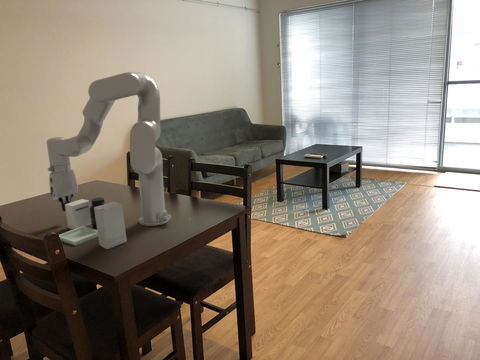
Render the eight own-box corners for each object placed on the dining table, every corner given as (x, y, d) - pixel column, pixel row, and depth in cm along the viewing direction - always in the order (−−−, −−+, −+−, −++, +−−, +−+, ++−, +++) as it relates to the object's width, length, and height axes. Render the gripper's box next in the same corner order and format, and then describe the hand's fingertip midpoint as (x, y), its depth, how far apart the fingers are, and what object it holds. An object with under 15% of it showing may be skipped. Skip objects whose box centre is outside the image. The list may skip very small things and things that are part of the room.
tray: (102, 235, 155) (101, 231, 155) (75, 245, 146) (75, 242, 145) (83, 229, 161) (82, 226, 161) (56, 239, 152) (56, 236, 151)
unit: (93, 223, 167) (90, 200, 165) (76, 230, 161) (72, 206, 158) (84, 221, 170) (81, 198, 168) (67, 227, 164) (64, 204, 161)
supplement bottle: (88, 230, 161) (84, 201, 158) (98, 223, 167) (94, 196, 164) (103, 231, 159) (100, 202, 156) (113, 224, 165) (109, 196, 162)
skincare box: (118, 238, 151) (114, 200, 147) (127, 242, 147) (123, 203, 143) (98, 245, 145) (93, 206, 141) (106, 250, 141) (101, 209, 137)
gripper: (49, 173, 156) (55, 218, 160) (82, 165, 168) (87, 207, 172) (37, 171, 160) (44, 215, 164) (71, 163, 172) (77, 204, 176)
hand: (66, 211), depth 168 cm, fingers closed
